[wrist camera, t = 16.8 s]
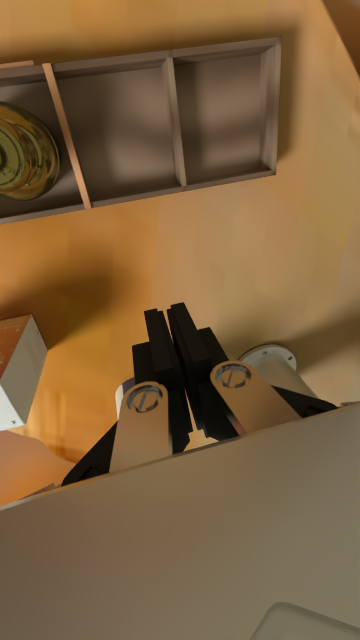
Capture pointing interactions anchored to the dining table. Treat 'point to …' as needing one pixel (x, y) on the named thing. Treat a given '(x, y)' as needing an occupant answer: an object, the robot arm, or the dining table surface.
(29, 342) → the small box
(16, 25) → the dining table surface
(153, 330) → the robot arm
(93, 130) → the wooden compartment tray
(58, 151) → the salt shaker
